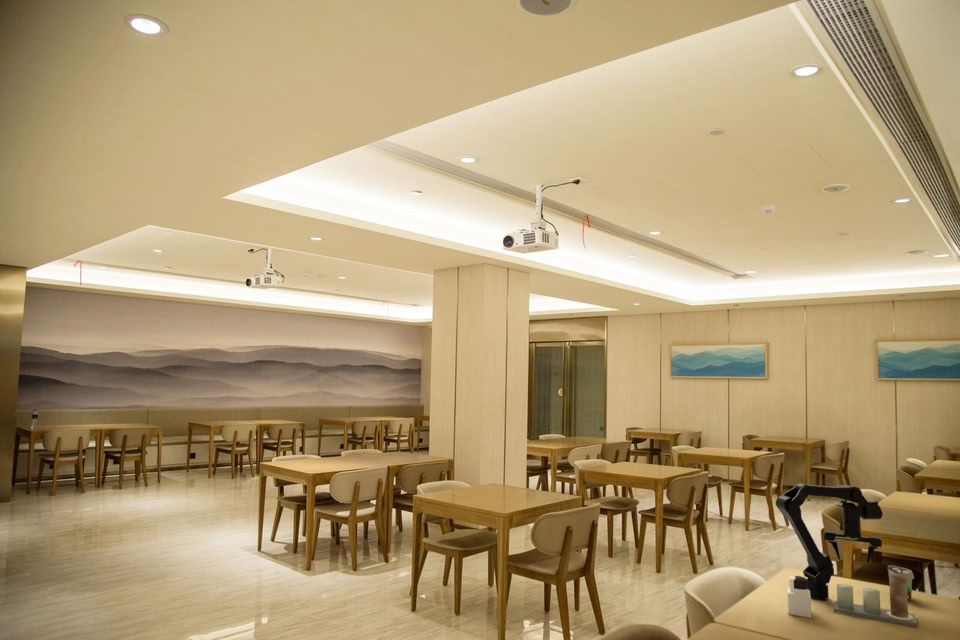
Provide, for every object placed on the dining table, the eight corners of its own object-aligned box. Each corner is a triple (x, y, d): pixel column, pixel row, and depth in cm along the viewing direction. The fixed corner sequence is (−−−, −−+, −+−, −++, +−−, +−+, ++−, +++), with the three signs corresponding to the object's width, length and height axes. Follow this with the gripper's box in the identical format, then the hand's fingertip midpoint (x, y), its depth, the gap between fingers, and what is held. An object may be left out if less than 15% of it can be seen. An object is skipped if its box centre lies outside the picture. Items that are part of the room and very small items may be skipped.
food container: (921, 603, 233) (920, 575, 234) (902, 601, 234) (901, 573, 235) (906, 592, 245) (905, 566, 246) (888, 591, 246) (887, 564, 247)
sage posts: (837, 607, 223) (836, 586, 224) (837, 603, 227) (836, 582, 228) (880, 614, 216) (879, 593, 217) (880, 610, 220) (879, 589, 221)
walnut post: (888, 614, 216) (886, 574, 217) (894, 611, 219) (892, 572, 220) (904, 618, 212) (902, 578, 213) (910, 616, 215) (909, 576, 216)
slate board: (833, 612, 221) (833, 607, 221) (834, 604, 230) (834, 600, 230) (916, 626, 209) (916, 622, 209) (915, 617, 217) (914, 613, 217)
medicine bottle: (810, 611, 221) (809, 576, 222) (811, 618, 215) (810, 581, 216) (787, 608, 224) (786, 573, 225) (788, 614, 218) (787, 578, 219)
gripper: (880, 518, 242) (882, 561, 241) (825, 512, 252) (826, 553, 250) (880, 523, 233) (882, 567, 231) (823, 517, 243) (824, 559, 241)
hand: (853, 561), depth 239 cm, fingers open, 9 cm apart
